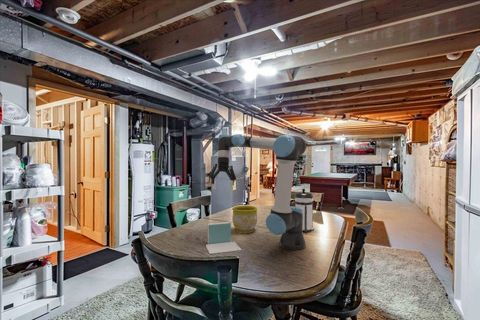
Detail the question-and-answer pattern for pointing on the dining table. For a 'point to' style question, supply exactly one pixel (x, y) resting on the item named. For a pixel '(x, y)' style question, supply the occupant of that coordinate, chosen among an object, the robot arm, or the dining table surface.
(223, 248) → the mat
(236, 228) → the flowerpot
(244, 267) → the dining table surface
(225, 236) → the tile
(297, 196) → the coffee press
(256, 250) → the dining table surface
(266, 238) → the dining table surface
